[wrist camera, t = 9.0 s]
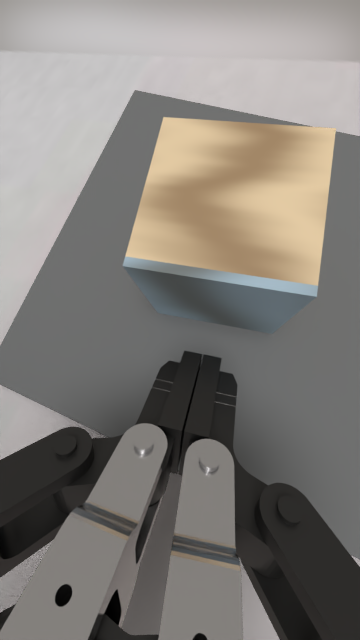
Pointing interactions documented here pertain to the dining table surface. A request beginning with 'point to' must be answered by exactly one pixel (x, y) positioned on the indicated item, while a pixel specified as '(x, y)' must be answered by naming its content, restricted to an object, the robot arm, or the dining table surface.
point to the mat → (200, 328)
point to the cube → (232, 221)
